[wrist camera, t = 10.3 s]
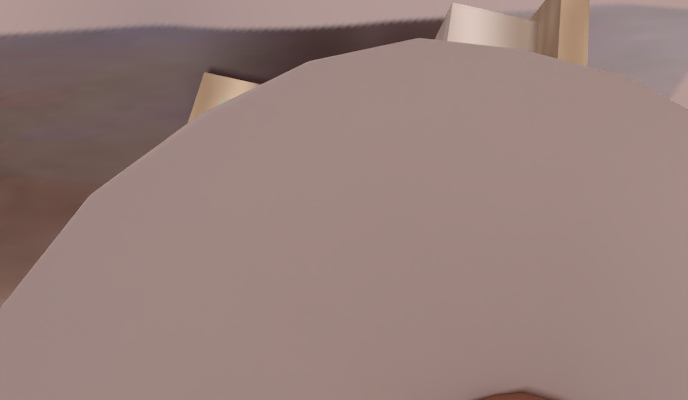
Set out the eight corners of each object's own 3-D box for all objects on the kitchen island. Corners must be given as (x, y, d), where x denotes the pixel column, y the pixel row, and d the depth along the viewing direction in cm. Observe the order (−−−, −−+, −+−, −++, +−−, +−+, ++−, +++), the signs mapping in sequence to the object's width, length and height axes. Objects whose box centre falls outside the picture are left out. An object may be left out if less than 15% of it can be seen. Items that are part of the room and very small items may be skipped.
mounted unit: (367, 242, 32) (424, 193, 16) (391, 110, 36) (459, -46, 19) (450, 259, 33) (590, 228, 16) (466, 126, 36) (597, -13, 19)
